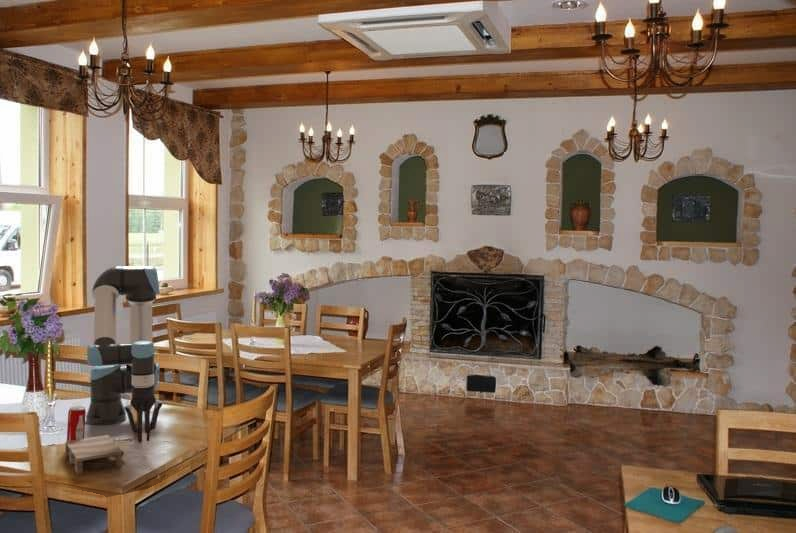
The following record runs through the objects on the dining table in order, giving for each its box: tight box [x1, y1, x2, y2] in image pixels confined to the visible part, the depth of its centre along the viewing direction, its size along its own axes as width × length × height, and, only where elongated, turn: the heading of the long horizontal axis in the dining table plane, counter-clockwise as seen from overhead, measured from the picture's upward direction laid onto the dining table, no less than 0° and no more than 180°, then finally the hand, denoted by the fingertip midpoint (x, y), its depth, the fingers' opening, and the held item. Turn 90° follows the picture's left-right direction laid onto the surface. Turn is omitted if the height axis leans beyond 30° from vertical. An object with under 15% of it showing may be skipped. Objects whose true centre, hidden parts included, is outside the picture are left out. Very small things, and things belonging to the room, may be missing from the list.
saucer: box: [83, 450, 125, 469], centre depth 237 cm, size 15×15×3 cm
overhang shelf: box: [65, 434, 123, 477], centre depth 236 cm, size 20×14×6 cm
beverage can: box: [66, 405, 87, 441], centre depth 250 cm, size 6×6×15 cm
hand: (143, 450), depth 245 cm, fingers closed
